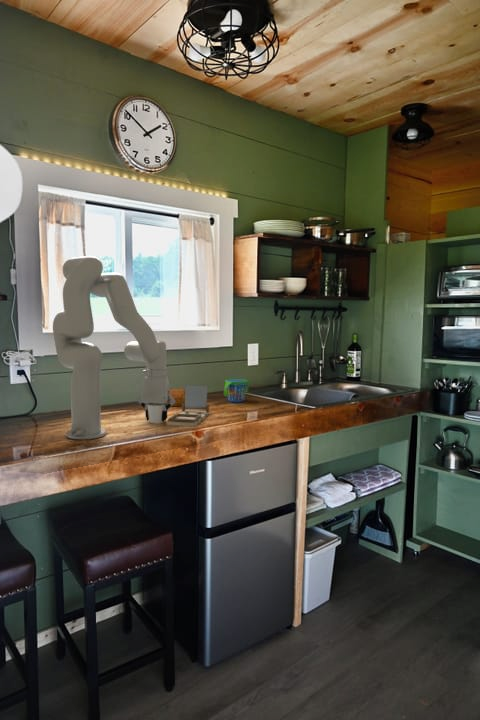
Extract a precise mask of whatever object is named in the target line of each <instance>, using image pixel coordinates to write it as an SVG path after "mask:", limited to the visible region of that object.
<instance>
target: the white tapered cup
mask: <svg viewBox="0 0 480 720" xmlns="http://www.w3.org/2000/svg"><path fill="white" fill-rule="evenodd" d="M147 405H148V415H149V420H148V423H150V424H162V423H164V422H165V421H162V411H163V405H161V404H151V403H150V404H147Z"/></svg>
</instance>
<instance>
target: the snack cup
mask: <svg viewBox="0 0 480 720" xmlns="http://www.w3.org/2000/svg"><path fill="white" fill-rule="evenodd" d="M224 383H225V384H224V387H223V388H224V389H223V396H225V397H227V400H228V402H229V403H243V402H244V401H245V398H246V397H245V396H246V393H247V394H248V392H249V384H248V383H249V381H248V380H247V379H243V378H230V379H229V378H228V379H225V380H224Z"/></svg>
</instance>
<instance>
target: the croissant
mask: <svg viewBox="0 0 480 720" xmlns="http://www.w3.org/2000/svg"><path fill="white" fill-rule="evenodd" d="M185 393H186V388H185V389H184V388H183V389H182V388H173V389H170V395H171V396H172V397H173V398H174V400H175V401H176V402H175V403H174V404H173V405H172V406H171V407H181V408H182V404H185ZM169 403H170V401H169V402H167V405H168V404H169Z"/></svg>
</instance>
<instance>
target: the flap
mask: <svg viewBox="0 0 480 720" xmlns="http://www.w3.org/2000/svg"><path fill="white" fill-rule="evenodd" d="M185 390H186V393H185V410H202V411H205V410H206V406H207V405H208V404H207V403H208V402H207V401H208V385H206V386H205V385H185Z"/></svg>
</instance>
